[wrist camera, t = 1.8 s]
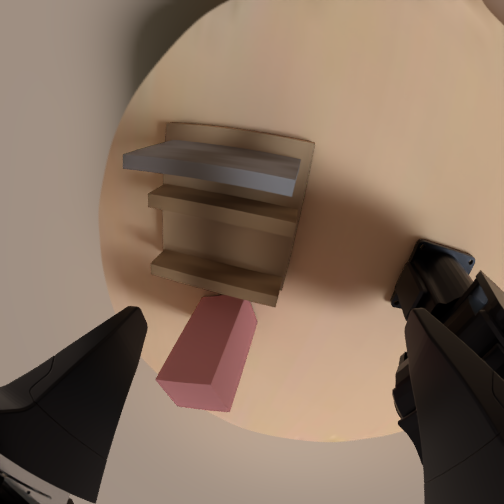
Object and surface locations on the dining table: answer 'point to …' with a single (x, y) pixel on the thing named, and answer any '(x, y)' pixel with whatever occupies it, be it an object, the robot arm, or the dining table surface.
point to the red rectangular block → (210, 354)
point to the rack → (226, 206)
